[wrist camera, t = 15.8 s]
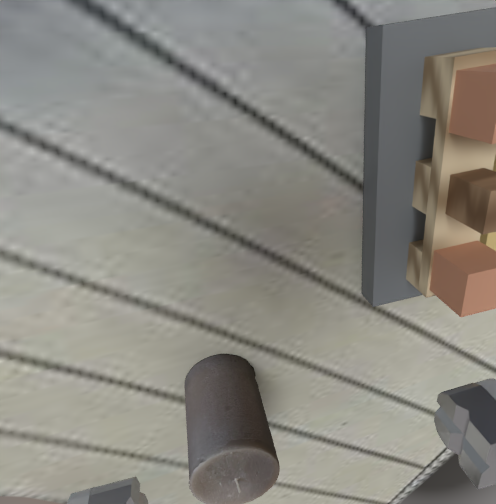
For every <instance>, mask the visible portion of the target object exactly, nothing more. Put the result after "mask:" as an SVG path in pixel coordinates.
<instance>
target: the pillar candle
mask: <svg viewBox="0 0 496 504" xmlns="http://www.w3.org/2000/svg"><path fill="white" fill-rule="evenodd" d="M185 397H186V398H185V401H186V421H187V440H188V459H189V480H190V481H189V483H190V486H189V488H190V490H191V492H192V493H193V496H195V497H196V498H197V499H198V500H200V501H202V502H204V503H206V504H243V503H246V502H250V501H252V500H254V499H256V498H258V497H260V496H261V495H263V494H264V493H265V492H267V491H268V490H269V489H270V488H271V487H272V486H273V484H275V482H276V480H277V478H278V475H279V469H280V468H279V461H278V458H277V455H276V451H275V447H274V443H273V439H272V436H271V432H270V429H269V426H268V421H267V418H266V414H265V411H264V407H263V403H262V399H261V396H260V392H259V389H258V384H257V382H256V380H255V372H254V369H253V367H252V366H251V365H250V364H249V363H248V361H246V360H245V359H243V358H241V357H239V356H235V355H229V354H220V355H215V356H211V357H208V358H206V359H204V360H202V361H200V362H199V363H197V364H196V365H194V367H193V368H192V369H191V370H190V371H189V373H188V374H187V376H186V380H185Z"/></svg>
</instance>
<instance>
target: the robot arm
mask: <svg viewBox="0 0 496 504" xmlns="http://www.w3.org/2000/svg"><path fill="white" fill-rule="evenodd" d="M437 402H438V404H439V405H440V408H439V409H438V410H437V411H436V412H435V418H434V422H435V426H436V429H437V432H438V434H439V436H440V438H441V440H442V441H443V443H444V444H445V445H446V447H447V448H448V449H449V450H451V451H453V452H455V453H457V454H458V455H459V465H460V466H461V467H462V469H463V470H464V472H465V473H466V474H467V476H468V477H469V478H470V480H471V481H472V482H473V484H474V485H475V487H476V488H477V489H481V488H484V487H488V486H492V485H495V484H496V380H495V379H486V380H483V381H480V382H476V383H471V384H467V385H464V386H461V387H457V388H454V389H451V390H447V391H444V392H441V393H440V394H439V395H438V399H437ZM67 504H148V500H147V498H146V496H145V494H143V493H141V492H140V483H139V481H138V479H137V477H132V478H128V479H124V480H121V481H117V482H113V483H110V484H106V485H102V486H98V487H93V488H90V489H86V490H82V491H79V492H75V493H72V494H71V495H70V497H69V500H68V502H67Z"/></svg>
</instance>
